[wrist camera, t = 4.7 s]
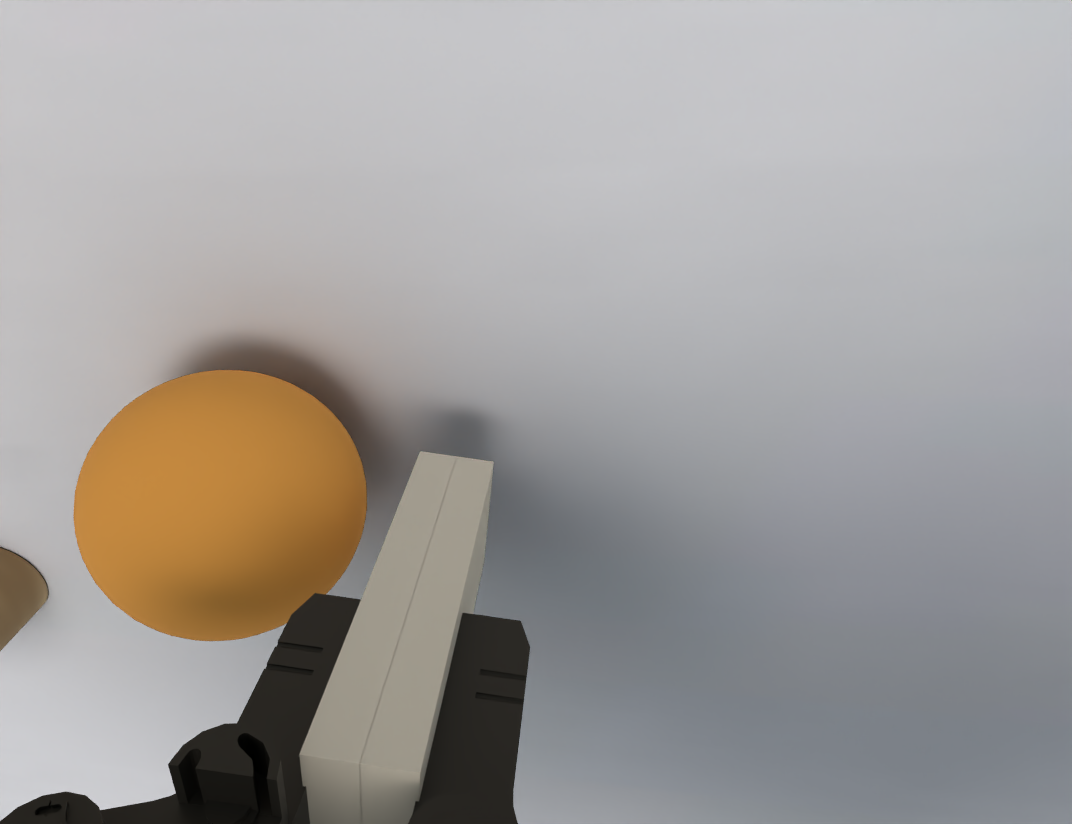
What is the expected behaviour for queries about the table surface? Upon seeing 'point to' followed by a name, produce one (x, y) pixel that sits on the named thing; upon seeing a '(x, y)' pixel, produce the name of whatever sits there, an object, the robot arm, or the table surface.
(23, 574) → the post
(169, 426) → the ball
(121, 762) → the table surface
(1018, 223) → the table surface
